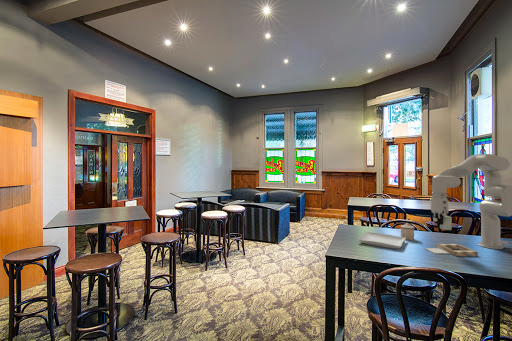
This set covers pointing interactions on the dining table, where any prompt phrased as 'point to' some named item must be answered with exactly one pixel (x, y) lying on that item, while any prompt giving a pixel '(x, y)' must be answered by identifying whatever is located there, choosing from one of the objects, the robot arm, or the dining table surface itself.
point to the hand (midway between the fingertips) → (438, 223)
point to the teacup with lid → (407, 231)
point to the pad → (436, 250)
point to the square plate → (382, 240)
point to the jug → (446, 223)
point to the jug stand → (461, 252)
